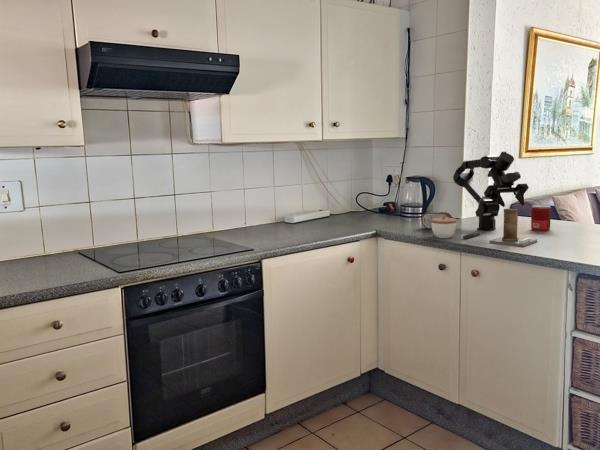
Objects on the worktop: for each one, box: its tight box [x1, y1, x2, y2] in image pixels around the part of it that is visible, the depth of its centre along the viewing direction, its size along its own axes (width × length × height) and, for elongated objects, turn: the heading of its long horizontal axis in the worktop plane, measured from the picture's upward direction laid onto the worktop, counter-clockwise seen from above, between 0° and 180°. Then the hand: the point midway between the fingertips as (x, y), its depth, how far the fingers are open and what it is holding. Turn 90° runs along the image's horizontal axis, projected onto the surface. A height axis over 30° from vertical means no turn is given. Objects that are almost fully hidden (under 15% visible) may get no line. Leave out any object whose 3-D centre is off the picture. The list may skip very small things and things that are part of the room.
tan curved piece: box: [421, 210, 453, 230], centre depth 254 cm, size 15×3×8 cm, turn 54°
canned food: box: [530, 204, 552, 232], centre depth 243 cm, size 8×8×11 cm
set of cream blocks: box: [519, 237, 532, 244], centre depth 212 cm, size 1×8×1 cm, turn 135°
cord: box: [462, 231, 481, 240], centre depth 231 cm, size 14×2×2 cm, turn 135°
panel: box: [489, 236, 538, 248], centre depth 217 cm, size 14×13×1 cm
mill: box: [501, 208, 519, 242], centre depth 216 cm, size 6×6×12 cm
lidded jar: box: [431, 216, 457, 239], centre depth 234 cm, size 11×11×9 cm
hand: (513, 205), depth 228 cm, fingers open, 9 cm apart
